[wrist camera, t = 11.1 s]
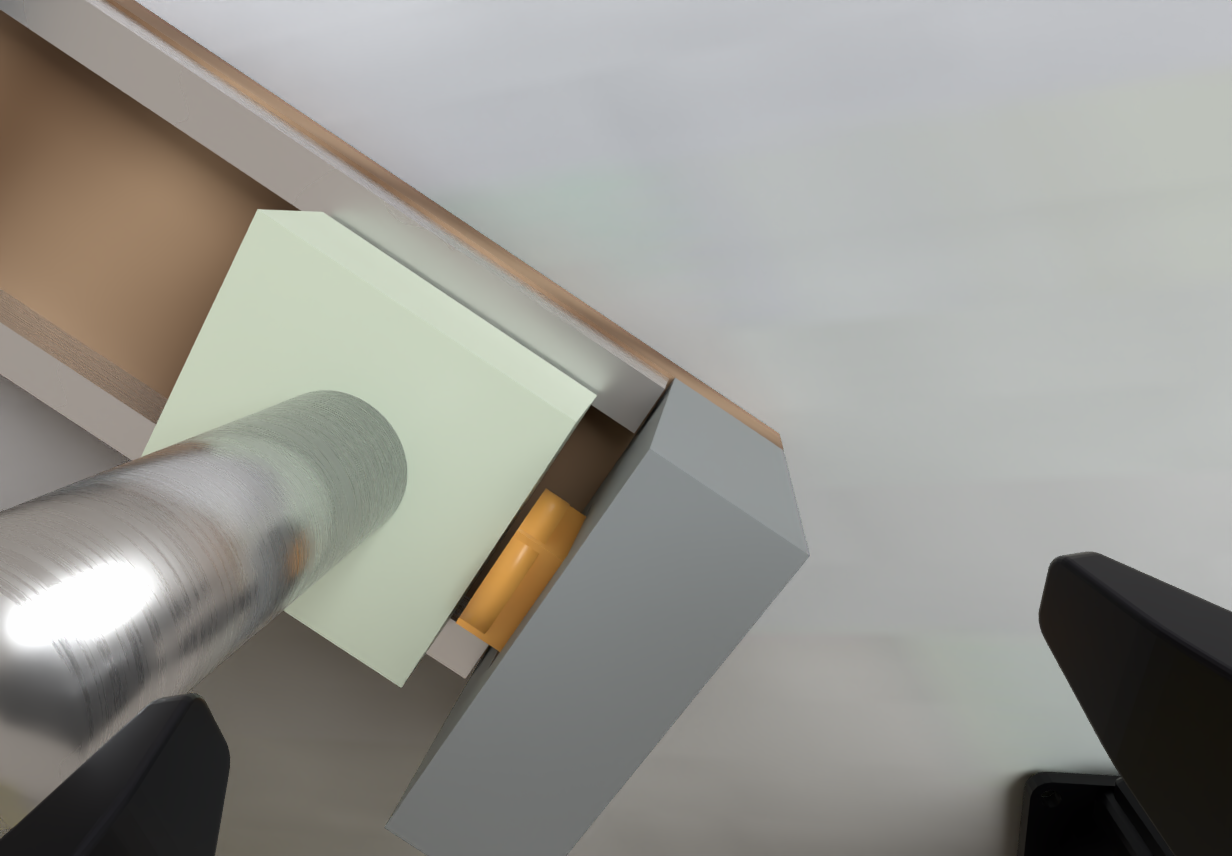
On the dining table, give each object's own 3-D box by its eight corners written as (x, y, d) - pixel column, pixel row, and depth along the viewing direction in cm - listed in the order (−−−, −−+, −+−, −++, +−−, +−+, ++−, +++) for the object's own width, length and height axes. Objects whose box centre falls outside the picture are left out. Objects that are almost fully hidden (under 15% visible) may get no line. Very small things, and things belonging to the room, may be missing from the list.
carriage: (596, 395, 17) (404, 641, 7) (441, 631, 19) (114, 1091, 9) (322, 211, 17) (-288, 187, 7) (194, 469, 19) (-425, 748, 9)
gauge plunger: (727, 582, 17) (727, 657, 14) (648, 683, 18) (631, 774, 15) (558, 469, 17) (522, 522, 14) (487, 577, 18) (438, 647, 15)
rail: (779, 434, 19) (809, 556, 12) (587, 689, 22) (518, 915, 15) (-10, -97, 19) (-466, -298, 12) (-114, 227, 21) (-543, 226, 14)
